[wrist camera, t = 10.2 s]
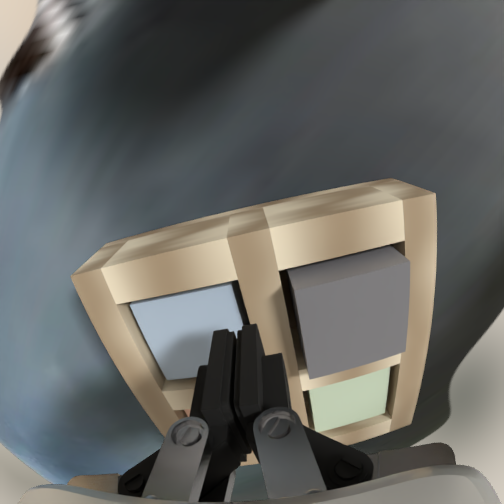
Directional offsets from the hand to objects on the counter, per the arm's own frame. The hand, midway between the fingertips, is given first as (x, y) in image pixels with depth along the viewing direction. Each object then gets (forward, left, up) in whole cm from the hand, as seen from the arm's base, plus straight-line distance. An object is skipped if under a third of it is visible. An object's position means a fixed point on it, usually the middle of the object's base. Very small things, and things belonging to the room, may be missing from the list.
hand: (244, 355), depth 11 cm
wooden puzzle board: (-1, +4, -7) cm, 8 cm away
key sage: (-5, +8, -6) cm, 11 cm away
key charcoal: (-5, +1, -4) cm, 6 cm away
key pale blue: (+3, +1, -6) cm, 6 cm away
